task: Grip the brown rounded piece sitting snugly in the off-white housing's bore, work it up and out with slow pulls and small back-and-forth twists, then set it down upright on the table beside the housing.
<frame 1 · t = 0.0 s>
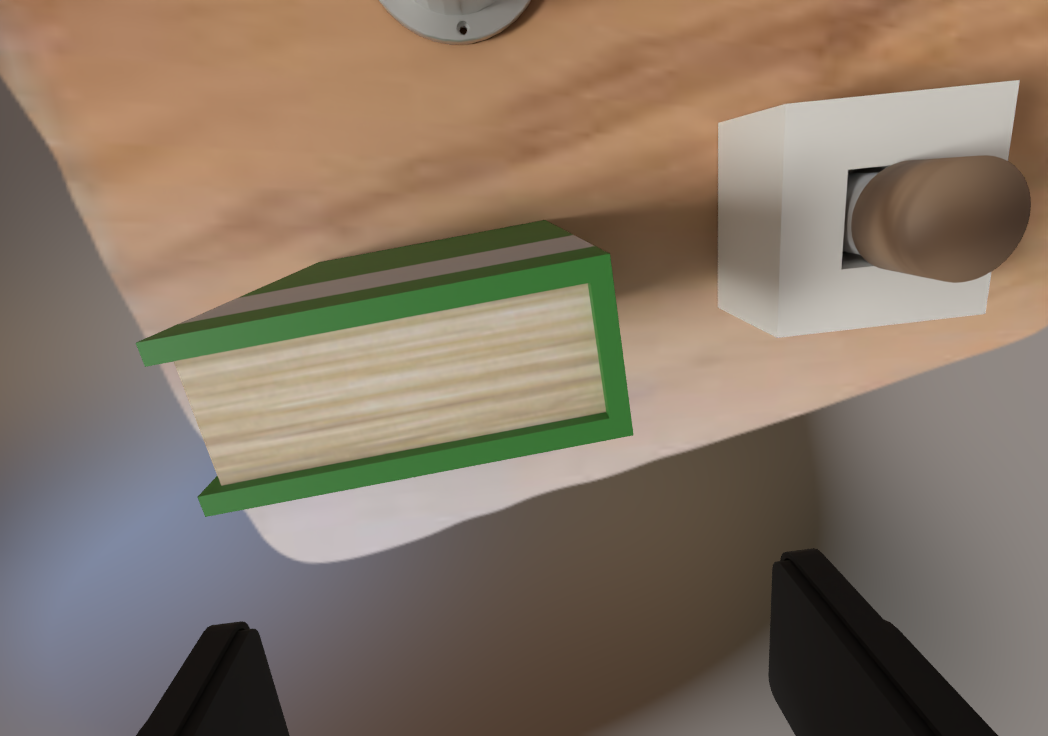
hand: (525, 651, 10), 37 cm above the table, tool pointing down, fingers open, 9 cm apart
hardback book: (442, 288, 45), on the table
brown rounded piece: (812, 210, 44), point 1 cm above the table, touching housing
housing: (805, 210, 45), on the table
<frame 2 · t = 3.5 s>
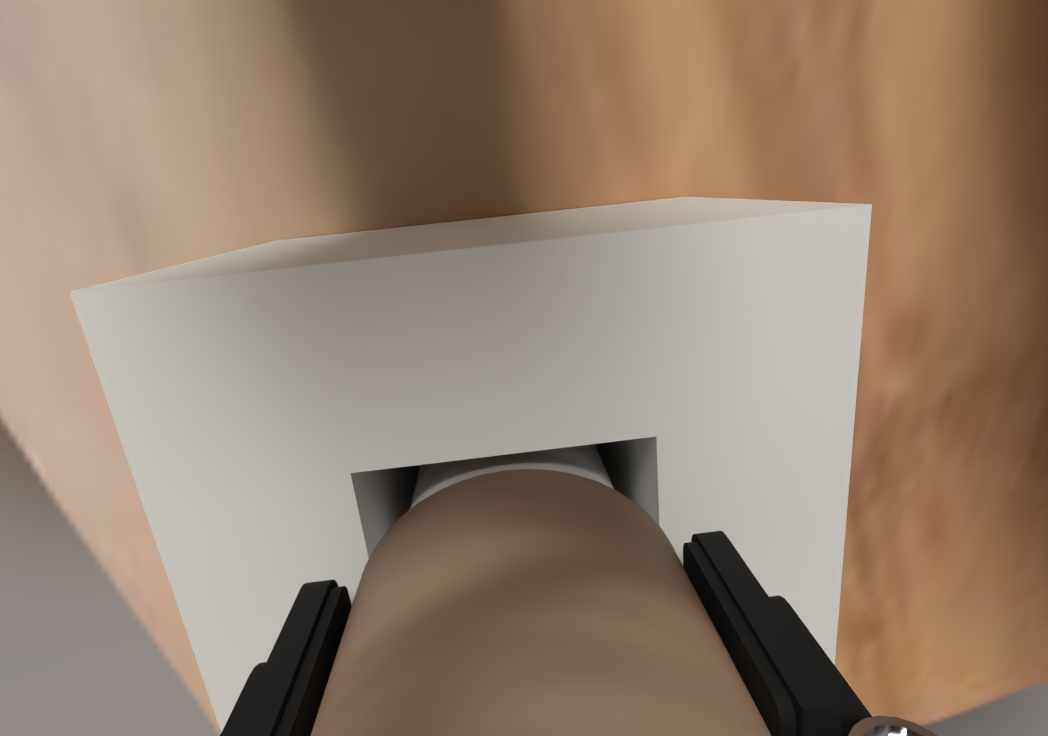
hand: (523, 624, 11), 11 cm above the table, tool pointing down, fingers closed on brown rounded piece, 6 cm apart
brown rounded piece: (505, 419, 21), point 1 cm above the table, touching gripper, housing
housing: (505, 409, 22), on the table
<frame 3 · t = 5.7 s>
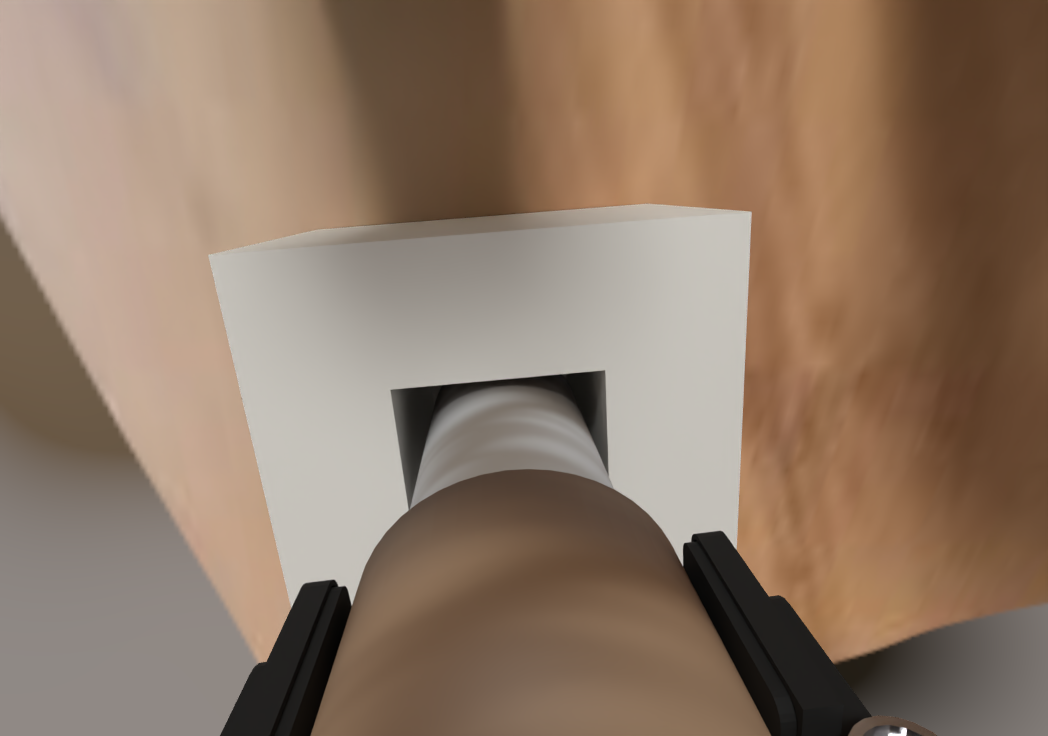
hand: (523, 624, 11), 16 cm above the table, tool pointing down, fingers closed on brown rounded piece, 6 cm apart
brown rounded piece: (505, 419, 21), point 6 cm above the table, touching gripper
housing: (498, 373, 26), on the table
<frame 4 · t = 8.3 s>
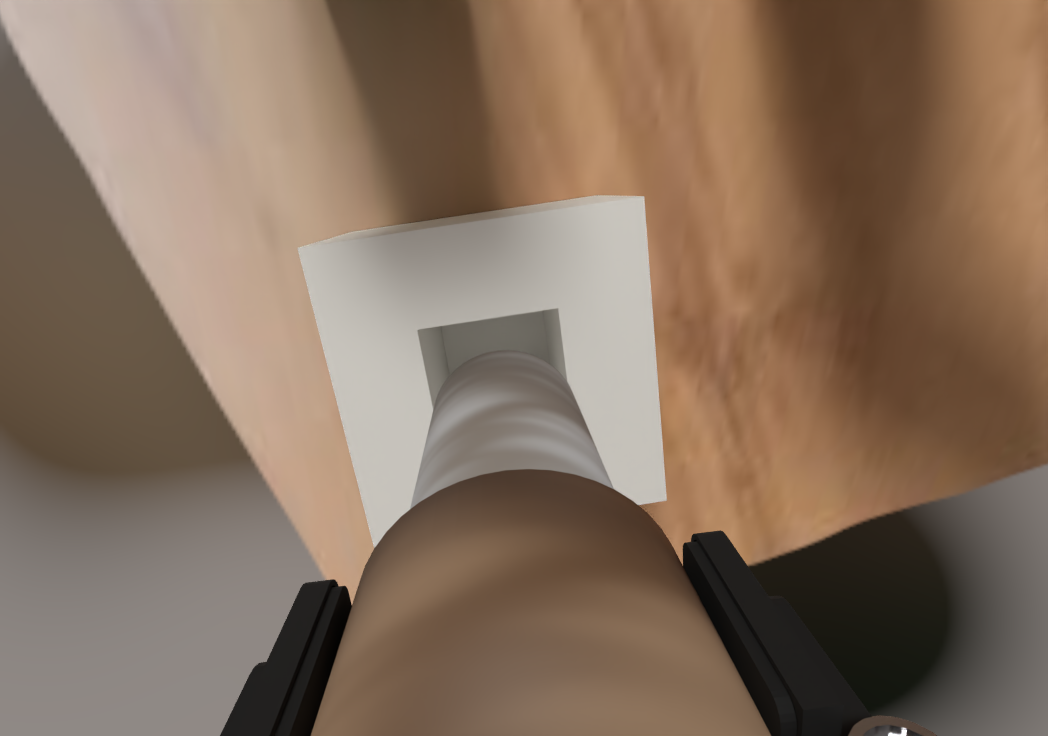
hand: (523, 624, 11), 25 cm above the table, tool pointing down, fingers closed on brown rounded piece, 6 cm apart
brown rounded piece: (505, 419, 21), point 14 cm above the table, touching gripper
housing: (494, 332, 35), on the table
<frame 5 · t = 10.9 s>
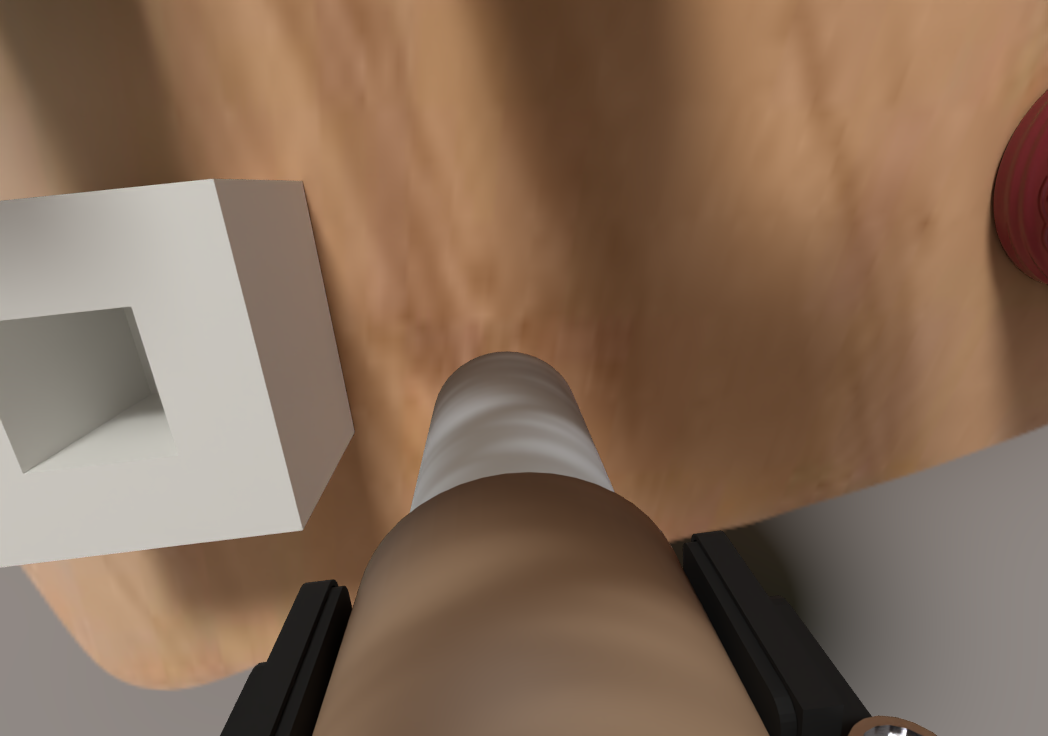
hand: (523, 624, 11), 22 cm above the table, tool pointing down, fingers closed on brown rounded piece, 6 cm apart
brown rounded piece: (505, 421, 21), point 12 cm above the table, touching gripper
housing: (200, 329, 31), on the table
when the fingers open (11 cm above the table, at t = 13.2 s): brown rounded piece drops 1 cm, on the table.
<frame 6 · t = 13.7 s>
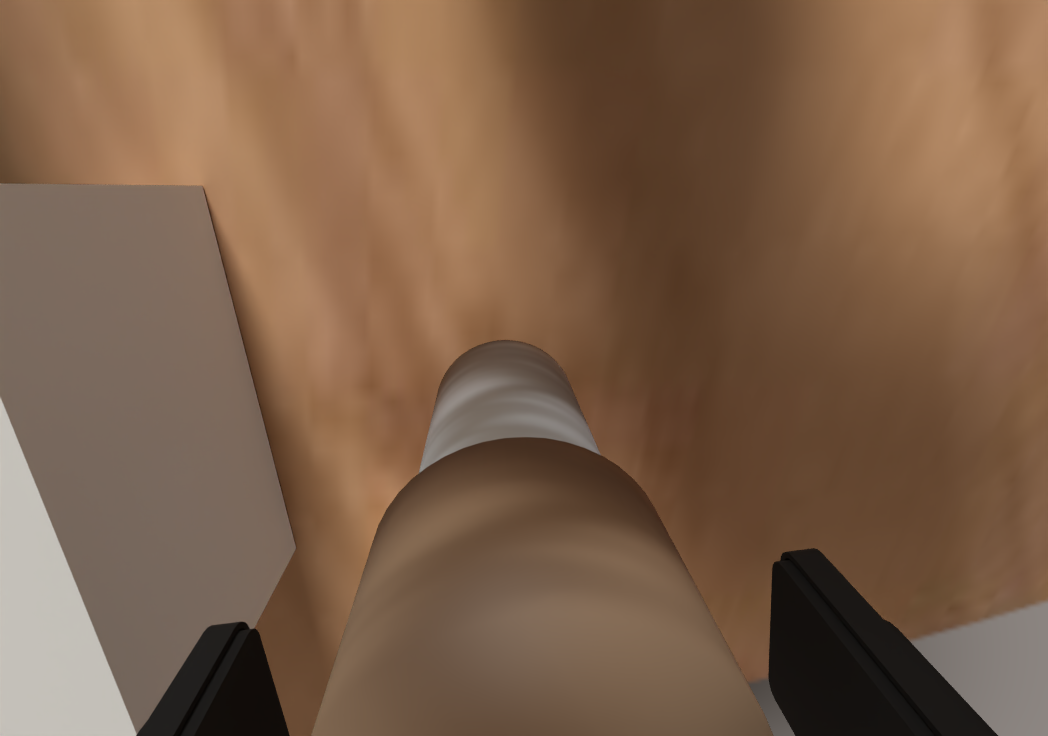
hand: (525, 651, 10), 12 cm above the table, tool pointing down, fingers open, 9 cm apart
brown rounded piece: (505, 406, 22), on the table
housing: (59, 407, 21), on the table
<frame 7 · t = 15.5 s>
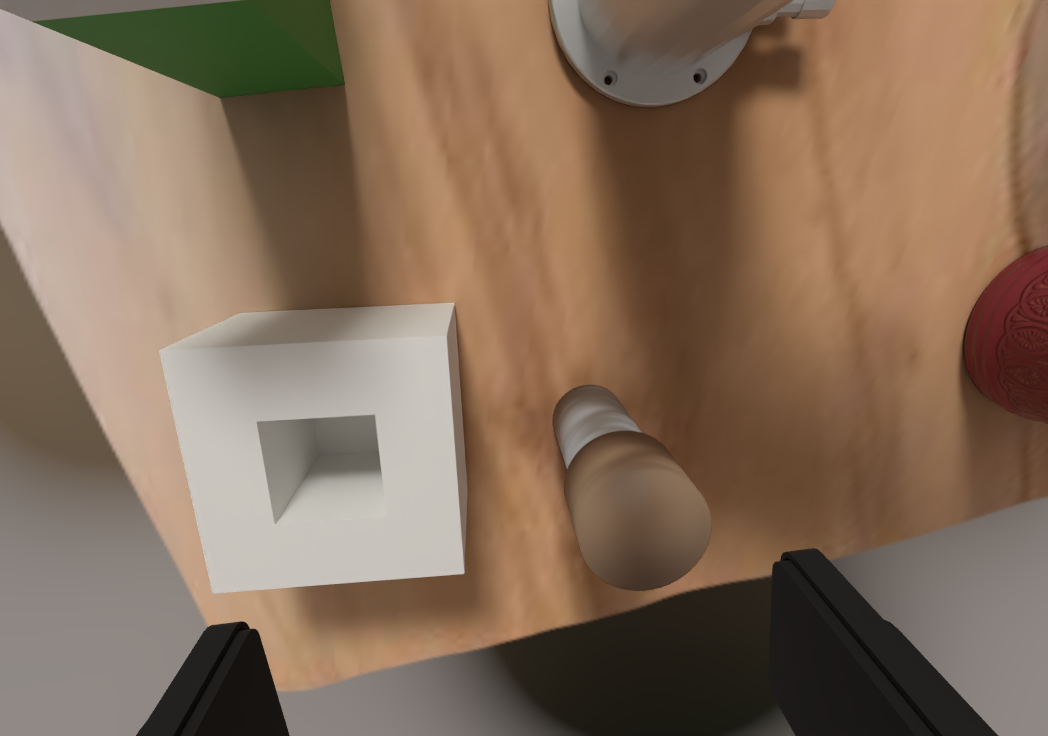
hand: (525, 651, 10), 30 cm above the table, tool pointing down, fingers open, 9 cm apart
brown rounded piece: (588, 419, 42), on the table
housing: (360, 406, 40), on the table
canister: (1040, 327, 43), on the table
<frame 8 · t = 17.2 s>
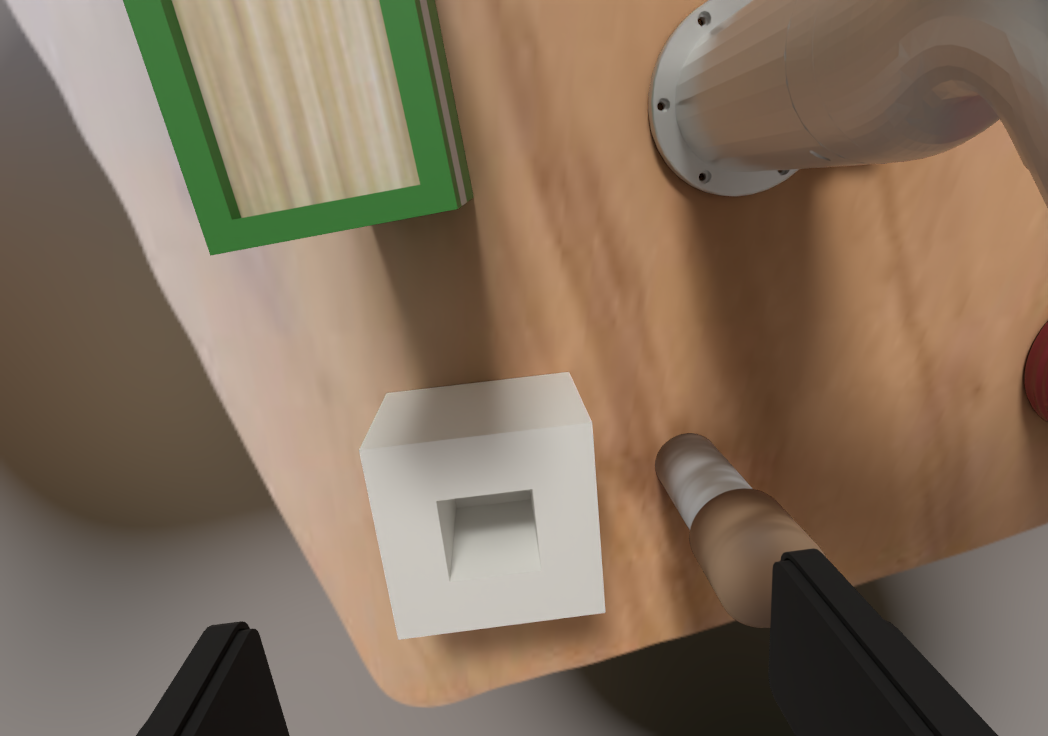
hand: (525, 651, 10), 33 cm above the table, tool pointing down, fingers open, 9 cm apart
hardback book: (390, 68, 37), on the table
brown rounded piece: (686, 462, 47), on the table
housing: (489, 464, 46), on the table
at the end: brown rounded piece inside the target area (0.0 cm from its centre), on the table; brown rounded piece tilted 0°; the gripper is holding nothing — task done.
